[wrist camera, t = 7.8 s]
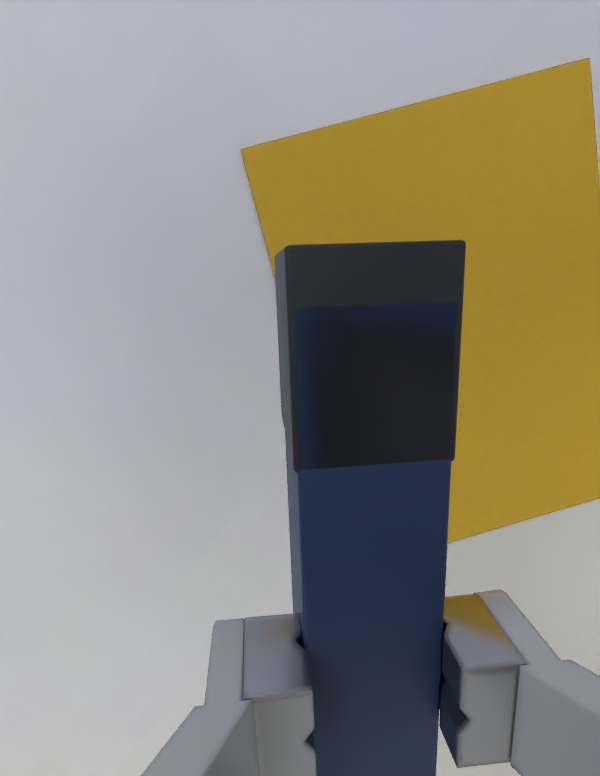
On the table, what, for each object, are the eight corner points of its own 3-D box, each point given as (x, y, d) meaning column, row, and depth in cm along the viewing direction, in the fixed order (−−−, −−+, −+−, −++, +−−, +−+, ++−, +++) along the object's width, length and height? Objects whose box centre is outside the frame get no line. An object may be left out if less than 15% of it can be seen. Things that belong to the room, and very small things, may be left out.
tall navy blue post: (391, 809, 11) (430, 958, 9) (300, 822, 11) (314, 979, 9) (402, 250, 8) (468, 239, 6) (274, 253, 8) (284, 244, 5)
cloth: (240, 150, 20) (240, 149, 20) (586, 59, 20) (589, 57, 20) (353, 568, 26) (354, 570, 25) (620, 489, 26) (623, 490, 26)
